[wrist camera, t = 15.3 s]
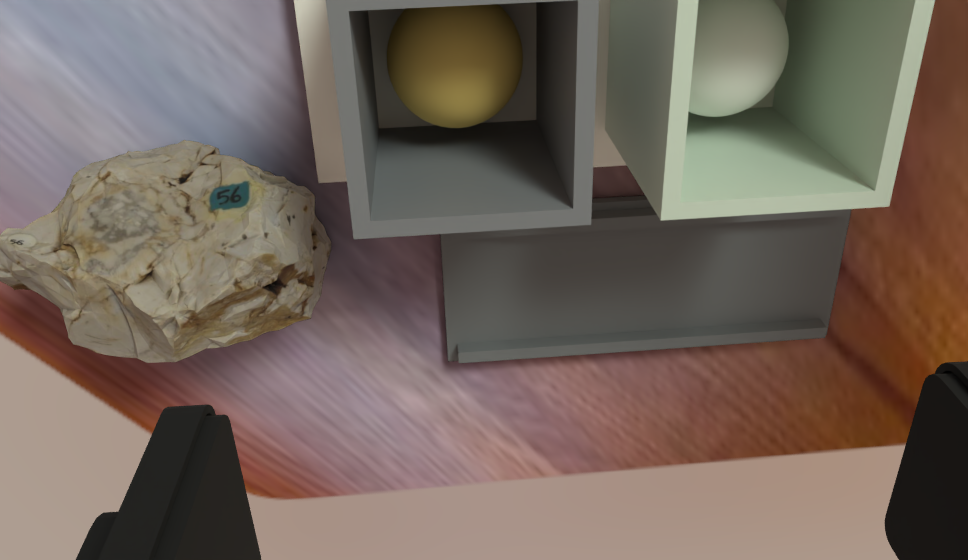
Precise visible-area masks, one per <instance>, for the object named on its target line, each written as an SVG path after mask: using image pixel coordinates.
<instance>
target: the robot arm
mask: <svg viewBox="0 0 968 560" xmlns="http://www.w3.org/2000/svg"><path fill="white" fill-rule="evenodd" d="M885 531H886V536H887V539H888V542H889V544H890V545H891V547H892V549H893V551H894V552H895V554H896V556H897V557H898V559H899V560H968V361H967V362H949V363H944V364H941V365H940V366H939V367H938V368H937V370H936V372H935V374H932V375H929V376H928V377H927V378H926V379H925V381H924V383H923V387H922V390H921V394H920V397H919V401H918V404H917V408H916V411H915V415H914V418H913V422H912V425H911V429H910V432H909V436H908V439H907V443H906V446H905V450H904V453H903V457H902V460H901V464H900V467H899V471H898V474H897V478H896V481H895V485H894V488H893V492H892V495H891V499H890V503H889V506H888V509H887V513H886V518H885ZM76 560H261V555H260V551H259V546H258V542H257V538H256V533H255V529H254V524H253V520H252V516H251V511H250V507H249V502H248V498H247V494H246V489H245V485H244V480H243V476H242V472H241V467H240V463H239V458H238V454H237V450H236V445H235V441H234V437H233V432H232V428H231V423H230V420H229V418H228V416H227V415H216V414H215V411H214V409H213V407H212V406H211V405H194V406H176V407H167V408H165V409H164V410H163V412H162V413H161V415H160V418H159V420H158V422H157V424H156V427H155V429H154V431H153V434H152V436H151V438H150V441H149V443H148V445H147V447H146V450H145V452H144V454H143V457H142V459H141V461H140V464H139V466H138V468H137V470H136V473H135V475H134V477H133V480H132V482H131V484H130V486H129V489H128V491H127V493H126V496H125V498H124V500H123V503H122V505H121V507H120V510H119V512H108V513H102V514H101V515H100V516H98V517H97V518H96V520H95V521H94V523H93V525H92V526H91V528H90V530H89V532H88V534H87V537H86V539H85V541H84V543H83V545H82V547H81V549H80V552H79V554H78V556H77V558H76Z"/></svg>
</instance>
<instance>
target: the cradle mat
mask: <svg viewBox="0 0 968 560" xmlns="http://www.w3.org/2000/svg"><path fill="white" fill-rule="evenodd" d="M850 214H851V209H841V210H825V211H808V212H792V213H776V214H759V215H743V216H727V217H710V218H694V219H678V220H660V219H659V217H658V215H657V214H656V212H655V210H654V209H653V207H652V206H651V204H650V202H649V201H648V199H647V197H646V196H629V197H612V198H595V199H592V214H591V225H580V226H563V227H547V228H531V229H514V230H498V231H482V232H465V233H449V234H440V237H441V253H442V269H443V286H444V302H445V318H446V335H447V351H448V361H459V363H470V362H484V361H498V360H513V359H527V358H542V357H556V356H570V355H585V354H599V353H614V352H628V351H642V350H657V349H671V348H685V347H700V346H714V345H729V344H743V343H757V342H772V341H786V340H801V339H815V338H825V335H827V330H828V325H829V320H830V315H831V310H832V305H833V300H834V295H835V290H836V285H837V280H838V275H839V270H840V265H841V260H842V255H843V249H844V244H845V239H846V234H847V229H848V224H849V219H850Z"/></svg>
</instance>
